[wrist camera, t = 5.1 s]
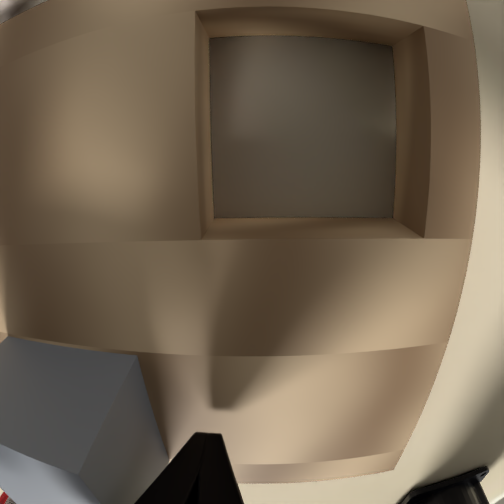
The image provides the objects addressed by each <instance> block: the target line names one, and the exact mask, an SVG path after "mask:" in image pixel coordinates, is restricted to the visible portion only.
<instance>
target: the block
mask: <svg viewBox="0 0 504 504" xmlns="http://www.w3.org/2000/svg"><path fill="white" fill-rule="evenodd" d="M169 461H170V460H169V458H168V455H167V452H166V449H165V447H164V444H163V441H162V438H161V435H160V432H159V429H158V426H157V423H156V420H155V417H154V414H153V410H152V407H151V404H150V400H149V397H148V394H147V390H146V387H145V383H144V379H143V376H142V372H141V368H140V364H139V361H138V357H137V355H128V354H118V353H109V352H101V351H93V350H86V349H78V348H72V347H65V346H59V345H53V344H47V343H41V342H35V341H30V340H25V339H20V338H15V337H10V336H7V337H6V338H5V339H4V340H3V341H2V342H1V343H0V488H1V489H2V490H3V491H4V492H5V493H6V494H7V495H8V496H9V497H10V498H11V499H12V500H13V501H14V502H15V503H16V504H134V503H135V502H136V501H137V500H138V498H139V497H140V496H141V495H142V494H143V493H144V492H145V491H146V489H147V488H148V487H149V486H150V485H151V484H152V483H153V481H154V480H155V479H156V478H157V477H158V476H159V474H160V473H161V472H162V471H163V470H164V469H165V467H166V466H167V465H168V464H169Z"/></svg>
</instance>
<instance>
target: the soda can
mask: <svg viewBox="0 0 504 504" xmlns="http://www.w3.org/2000/svg"><path fill="white" fill-rule="evenodd" d="M0 504H16V503H15V502H14V501H13V500H12V499H11V498H10V497H9V496H8V495H7V494H6V493H5V492H3V493H2V495H1V497H0Z"/></svg>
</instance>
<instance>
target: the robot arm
mask: <svg viewBox="0 0 504 504" xmlns="http://www.w3.org/2000/svg"><path fill="white" fill-rule="evenodd" d="M488 472H489V469H488V467H487V466H485V467H482V468H480V469H477V470H475V471H472V472H470V473H467V474H464V475H462V476H459V477H456V478H453V479H450V480H447V481H444V482H441V483H438V484H435V485H431V486H428V487H424V488H421V489H417V490H415V491H413V492H411V493H409V494H408V496H407V497H406V498H405V500H404V501H403V502H402V504H489V502H488V500H487V497H486V495H485V493H484V491H483V489H482V486H481V484H480V482H481V481H482V479H483V478H484V477H485V476H486V475H487V474H488ZM134 504H244V502H243V499H242V496H241V493H240V490H239V487H238V484H237V481H236V478H235V475H234V472H233V468H232V465H231V462H230V459H229V456H228V452H227V449H226V446H225V442H224V439H223V436H222V434H221V433H208V432H195V433H194V434H193V435H192V436H191V437H190V439H189V440H188V441H187V442H186V443H185V445H184V446H183V447H182V448H181V450H180V451H179V452H178V453H177V454H176V456H175V457H174V458H173V459H172V460H171V462H170V463H169V464H168V465H167V466H166V467H165V469H164V470H163V471H162V472H161V473H160V474H159V476H158V477H157V478H156V479H155V480H154V481H153V483H152V484H151V485H150V486H149V487H148V488H147V489H146V491H145V492H144V493H143V494H142V495H141V496H140V497H139V498H138V500H137V501H136V502H135V503H134Z"/></svg>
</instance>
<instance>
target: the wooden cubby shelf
mask: <svg viewBox="0 0 504 504" xmlns="http://www.w3.org/2000/svg"><path fill="white" fill-rule="evenodd" d="M256 35H285V36H310V37H325V38H337V39H346V40H355V41H363V42H370V43H377V44H383V45H389V46H392V47H393V59H394V72H395V91H396V176H395V195H394V210H393V218H338V217H284V218H216V219H214V205H213V183H212V157H211V124H210V69H209V38H215V37H230V36H256ZM480 148H481V119H480V95H479V81H478V70H477V61H476V53H475V46H474V39H473V33H472V27H471V21H470V16H469V11H468V7H467V2H466V0H48V1H46V2H43V3H41V4H39V5H37V6H35V7H33V8H30V9H28V10H26V11H24V12H22V13H20V14H18V15H16V16H15V17H13V18H11V19H9V20H7V21H5V22H3V23H2V24H0V343H1V342H2V341H3V340H4V339H5V338H6V337H7V336H10V337H15V338H20V339H25V340H30V341H35V342H41V343H47V344H53V345H59V346H65V347H72V348H78V349H86V350H93V351H101V352H109V353H118V354H128V355H137V357H138V361H139V364H140V368H141V372H142V376H143V379H144V383H145V387H146V390H147V394H148V397H149V400H150V404H151V407H152V410H153V414H154V417H155V420H156V423H157V426H158V429H159V432H160V435H161V438H162V441H163V444H164V447H165V449H166V452H167V455H168V458H169V460H170V461H169V463H170V462H171V460H172V459H173V458H174V457H175V456H176V454H177V453H178V452H179V451H180V450H181V448H182V447H183V446H184V445H185V443H186V442H187V441H188V440H189V439H190V437H191V436H192V435H193V434H194V433H195V432H208V433H221V434H222V436H223V439H224V442H225V446H226V449H227V452H228V456H229V459H230V462H231V465H232V468H233V472H234V475H235V478H236V481H237V483H296V482H311V481H323V480H333V479H341V478H349V477H356V476H363V475H369V474H375V473H380V472H385V471H390V470H394V468H395V466H396V464H397V462H398V461H399V459H400V457H401V455H402V453H403V451H404V449H405V447H406V445H407V443H408V441H409V439H410V437H411V435H412V433H413V431H414V429H415V426H416V424H417V422H418V420H419V418H420V415H421V413H422V411H423V409H424V406H425V404H426V401H427V399H428V397H429V394H430V392H431V389H432V386H433V384H434V381H435V379H436V376H437V373H438V370H439V368H440V365H441V362H442V359H443V356H444V353H445V350H446V347H447V344H448V341H449V338H450V334H451V331H452V327H453V324H454V320H455V317H456V313H457V309H458V306H459V302H460V298H461V293H462V289H463V285H464V280H465V276H466V271H467V266H468V261H469V255H470V250H471V244H472V237H473V231H474V224H475V216H476V207H477V198H478V187H479V172H480Z"/></svg>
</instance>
